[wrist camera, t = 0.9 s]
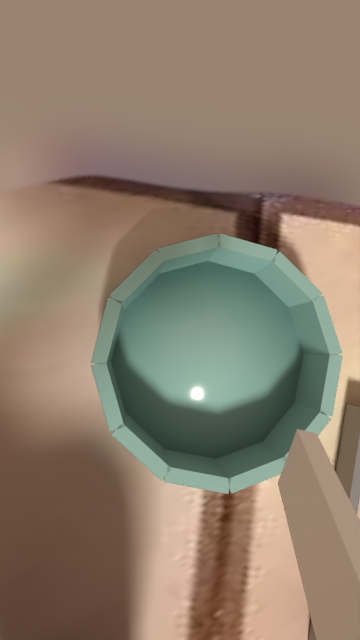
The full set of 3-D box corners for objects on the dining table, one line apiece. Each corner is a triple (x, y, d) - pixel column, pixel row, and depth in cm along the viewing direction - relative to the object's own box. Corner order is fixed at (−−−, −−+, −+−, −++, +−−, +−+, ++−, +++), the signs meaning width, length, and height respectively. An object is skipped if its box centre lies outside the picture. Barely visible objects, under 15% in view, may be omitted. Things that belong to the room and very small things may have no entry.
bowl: (287, 484, 31) (316, 510, 26) (76, 443, 28) (64, 463, 23) (323, 283, 33) (356, 272, 28) (132, 230, 31) (131, 208, 26)
